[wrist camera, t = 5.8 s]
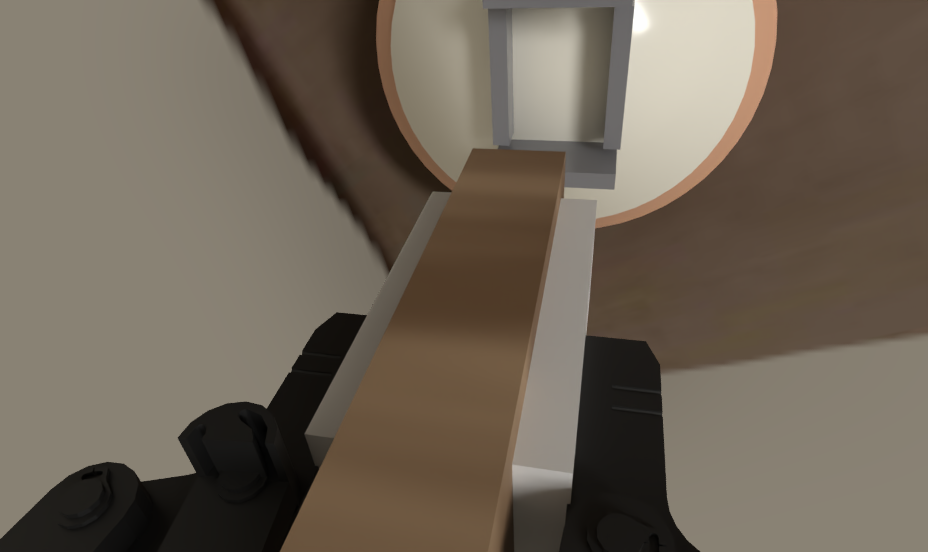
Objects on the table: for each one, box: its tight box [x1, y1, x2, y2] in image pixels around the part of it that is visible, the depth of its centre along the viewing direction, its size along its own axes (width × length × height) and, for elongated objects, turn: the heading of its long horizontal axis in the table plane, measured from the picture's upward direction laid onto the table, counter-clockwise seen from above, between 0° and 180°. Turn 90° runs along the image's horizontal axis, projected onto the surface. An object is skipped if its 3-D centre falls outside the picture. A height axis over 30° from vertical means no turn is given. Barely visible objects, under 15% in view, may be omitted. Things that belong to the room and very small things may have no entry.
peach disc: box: [376, 0, 777, 228], centre depth 22 cm, size 14×14×6 cm
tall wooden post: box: [280, 148, 566, 552], centre depth 9 cm, size 4×2×12 cm, turn 4°
